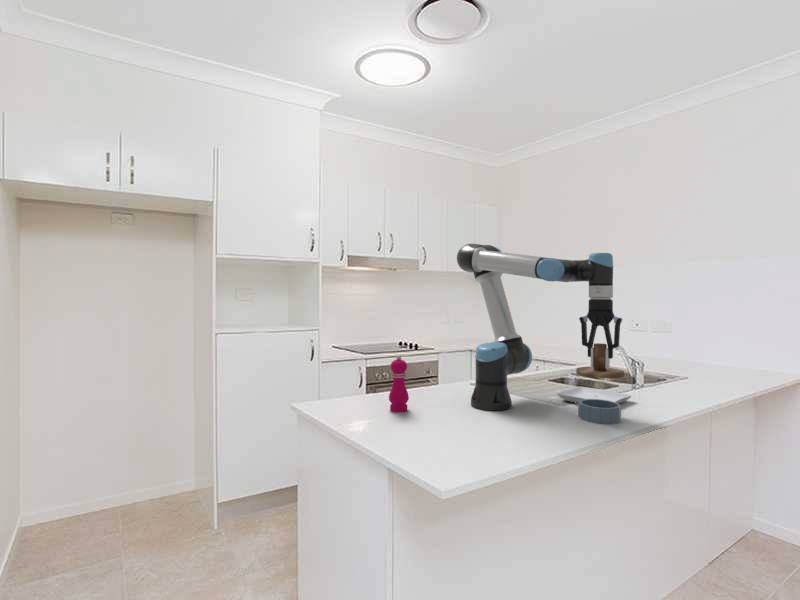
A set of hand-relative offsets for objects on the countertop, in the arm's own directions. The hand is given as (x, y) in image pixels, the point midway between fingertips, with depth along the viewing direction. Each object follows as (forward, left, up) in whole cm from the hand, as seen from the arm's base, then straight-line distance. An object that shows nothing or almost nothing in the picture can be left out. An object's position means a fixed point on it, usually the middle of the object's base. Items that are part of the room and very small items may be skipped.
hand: (600, 367), depth 155 cm
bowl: (0, 0, -17) cm, 17 cm away
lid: (0, 0, -2) cm, 2 cm away
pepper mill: (-62, -31, -18) cm, 72 cm away
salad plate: (-7, +24, -18) cm, 31 cm away
